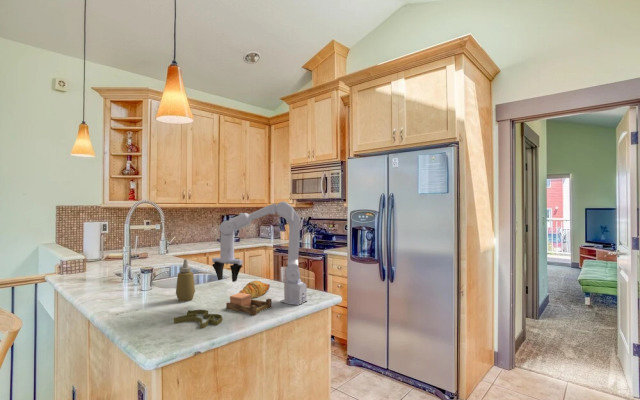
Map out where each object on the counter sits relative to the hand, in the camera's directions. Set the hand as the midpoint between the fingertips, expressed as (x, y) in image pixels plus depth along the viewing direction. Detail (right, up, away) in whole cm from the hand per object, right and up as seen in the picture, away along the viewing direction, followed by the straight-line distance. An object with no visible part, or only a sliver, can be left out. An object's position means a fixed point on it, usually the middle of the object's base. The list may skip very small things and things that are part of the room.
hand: (227, 280), depth 144 cm
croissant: (+9, -11, +14) cm, 19 cm away
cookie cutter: (-4, -11, -20) cm, 23 cm away
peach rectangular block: (+7, -9, -5) cm, 13 cm away
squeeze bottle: (-20, -10, +5) cm, 23 cm away
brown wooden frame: (+10, -10, -6) cm, 15 cm away
